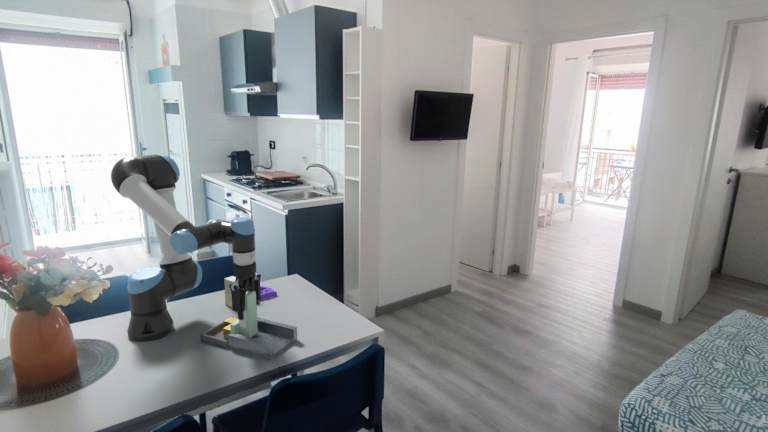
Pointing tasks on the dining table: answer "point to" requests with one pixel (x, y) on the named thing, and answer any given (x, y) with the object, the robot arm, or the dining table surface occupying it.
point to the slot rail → (265, 339)
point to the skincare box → (228, 290)
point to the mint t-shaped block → (248, 317)
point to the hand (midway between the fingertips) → (248, 323)
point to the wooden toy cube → (226, 331)
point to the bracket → (267, 292)
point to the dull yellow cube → (229, 321)
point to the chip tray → (215, 336)
